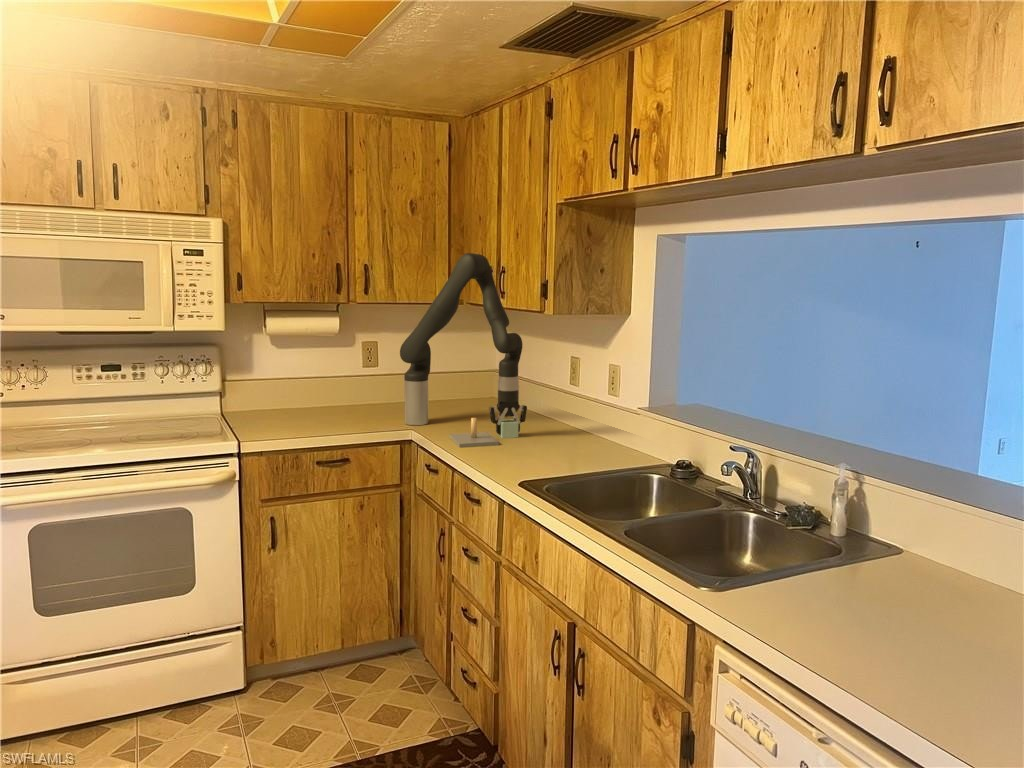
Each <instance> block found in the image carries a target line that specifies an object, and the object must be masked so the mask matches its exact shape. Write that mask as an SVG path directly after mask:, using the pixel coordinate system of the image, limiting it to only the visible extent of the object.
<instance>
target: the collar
mask: <svg viewBox="0 0 1024 768" xmlns="http://www.w3.org/2000/svg"><path fill="white" fill-rule="evenodd" d="M500 425H501V435H498V436H499V437H500V438H501V439H510V438H519V432H518V422H517V421H515V420H514V418H513V419H503V420H502V422H501V424H500Z"/></svg>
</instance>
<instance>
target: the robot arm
mask: <svg viewBox="0 0 1024 768" xmlns="http://www.w3.org/2000/svg"><path fill="white" fill-rule="evenodd" d="M459 257H460V258H459V259H458V260H457V261H456V263H455V264H454V265H455V266H454V268H453V269H452V271H451V273H450V275H449V277H448V279H447V280H446V282H445V283H444V284H443V286H442V288H441V290H440V291H439V293H438V294H437V296H436V297H435V298H434V299H433V301H432V303H431V304H430V306H429V307H428V309H427V311H425V313H424V315H423V316H422V317H421V319H420V321H419V322H418V324H417V325H416V327H415V328H414V329H413V331H411V333H410V334H409V335H408V336H407V337H406V339H405V340H404V341H403V342H402V343H401V346H400V349H399V356H400V359H401V360H402V361H403V362H404V363H406V364H410V366H409V368H408V369H407V371H405V373H404V376H403V377H404V381H403V382H404V424H405V425H407V426H408V425H409V426H410V425H411V426H423V425H428V424H429V375H430V372H431V360H432V358H431V357H432V351H431V347H430V344H429V340H431V339H432V338H433V337H434V336H435V335H437V334H438V333H439V332H440V331H441V330H443V329H444V328H445V327H446V326H447V325H448V324H449V323H450V321H451V320H452V319H453V317H454V316H455V314H456V312H457V311H458V309H459V305H460V300H461V299H460V298H461V294H462V292H463V290H464V288H465V287H466V286H467V284H468V283H469V282H470V281H471V280H475V281H476V283H477V284H478V286H479V288H480V291H481V294H482V307H483V312H484V315H485V317H486V320H487V322H488V324H489V326H490V329H491V335H492V342H493V344H494V347H495V348H496V350H497V351H498V352H499V353H501V354H505V355H504V358H503V359H501V360H500V361H499V363H498V380H497V404H496V405H495V406H491V405H490V406H489V407H488V410H489V416H490V422H491V423H492V424H495V433H496V434H497V435H498V436H499V435H501V425H500V424H501V422H502V420H505V418H507V417H512V418H513V419H514V420H515V421H517V422H518V433H520V431H521V424H522V423H524V422H526V418H527V417H526V415H527V409H528V406H527V405H525V404H519V399H520V398H519V396H520V395H519V393H520V392H519V390H520V383H519V362H520V360H521V355H522V351H523V339H522V337H521V336H520V334H518V333H517V332H508V331H507V327H509V325H510V320H509V316H508V314H507V311H506V310H505V308H504V306H503V304H502V302H501V299H500V296H499V293H498V289H497V286H496V283H495V279H494V276H493V272H492V268H491V265H490V261H489V259H488V258H487V257H486V256H485V255H483V254H480V253H479V254H478V253H472V252H466V253H464V254H462V255H461V256H459ZM497 411H498V415H497V418H496V413H497ZM518 411H520V416H519V415H518V413H517V412H518Z"/></svg>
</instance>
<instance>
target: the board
mask: <svg viewBox="0 0 1024 768" xmlns="http://www.w3.org/2000/svg"><path fill="white" fill-rule="evenodd" d="M477 424H478V418H477V417H471V418H470V432H465V433H462V432H461V433H450V434H449V438H450V439H451V440H452V441H453V442H454V444H455V445H457V446H458V447H459V448H473V447H487V446H489V447H490V446H499V445H500V441H499V440H498V439H496V438H495V436H493V435H492V434H490V432H488V431H484V432H483V431H482V432H478V430H477V428H478V427H477V426H478V425H477Z"/></svg>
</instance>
